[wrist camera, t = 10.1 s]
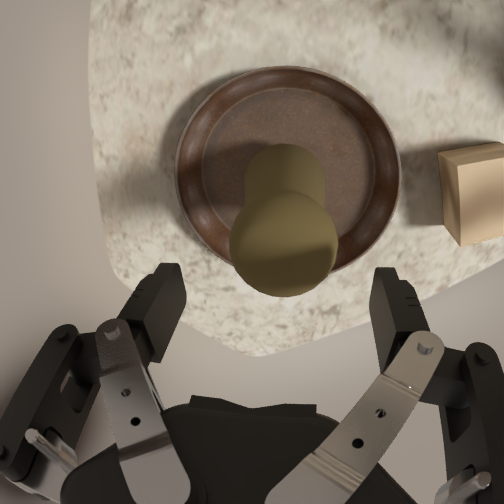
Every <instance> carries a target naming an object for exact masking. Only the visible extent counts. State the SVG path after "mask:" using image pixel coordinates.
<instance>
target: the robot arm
mask: <svg viewBox="0 0 504 504" xmlns="http://www.w3.org/2000/svg"><path fill="white" fill-rule="evenodd" d="M186 297H187V296H186V290H185V285H184V281H183V277H182V273H181V268H180V265H179V264H178V263H160V264H159V266H158V267H157V269H156V270H155V272H154V273H153V274H149V275H147V276H146V277H145V278H144V279H142V280H141V281H140V282H139V284H138V286H137V287H136V289H135V290H134V292H133V294H132V295H131V297H130V298H129V299H128V301H127V303H126V304H125V306H124V307H123V309H122V310H121V312H120V314H119V315H118V317H117V318H116V319H110V320H107V321H105V322H104V323H102V324H101V325H100V326H99V327H98V328H97V330H96V332H92V333H84V334H80V333H79V332H78V330H77V328H76V327H75V326H74V325H71V324H65V325H62V326H59V327H57V328H56V329H55V330H54V331H53V332H52V333H51V334H50V335H49V337H48V339H47V340H46V342H45V343H44V345H43V346H42V348H41V350H40V351H39V353H38V354H37V356H36V358H35V359H34V361H33V363H32V364H31V366H30V367H29V369H28V371H27V373H26V374H25V376H24V378H23V379H22V381H21V383H20V385H19V386H18V388H17V390H16V392H15V393H14V395H13V397H12V399H11V401H10V403H9V405H8V406H7V408H6V410H5V412H4V414H3V416H2V418H1V420H0V474H2V475H3V476H5V477H6V478H7V479H8V480H9V481H11V482H12V483H14V484H15V485H17V486H18V487H20V488H22V489H23V490H25V491H27V492H29V493H32V494H33V495H35V496H37V497H38V498H40V499H42V500H53V501H55V502H57V503H59V504H417V503H416V502H415V501H414V500H413V499H412V498H411V497H410V495H409V494H408V493H407V492H406V491H405V490H404V489H403V488H402V487H401V486H400V485H399V484H398V483H397V482H396V481H395V480H394V479H393V478H392V477H391V476H390V475H389V474H388V472H386V470H385V469H383V467H382V466H381V465H380V464H379V463H378V461H379V460H380V458H381V457H382V456H383V454H384V453H385V452H386V450H387V449H388V447H389V446H390V444H391V443H392V441H393V440H394V439H395V437H396V436H397V434H398V432H399V431H400V430H401V428H402V427H403V425H404V423H405V422H406V420H407V419H408V417H409V415H410V414H411V412H412V410H413V409H414V407H415V406H416V404H417V402H418V401H420V402H424V403H429V404H435V405H438V406H439V412H440V418H441V425H442V433H443V441H444V450H445V460H446V471H447V482H446V483H445V484H444V485H442V486H441V487H440V488H439V490H438V491H437V493H436V496H435V500H434V504H504V373H503V370H502V367H501V364H500V361H499V359H498V356H497V354H496V352H495V351H494V349H493V348H491V347H490V346H489V345H487V344H485V343H480V342H476V343H472V344H470V345H469V346H468V347H467V349H466V350H465V351H460V350H455V349H451V348H447V347H445V346H444V344H443V342H442V340H441V339H440V338H439V337H438V336H437V335H435V334H434V333H431V332H430V329H429V326H428V323H427V321H426V318H425V315H424V312H423V310H422V307H421V306H420V305H421V304H420V302H419V299H418V297H417V294H416V292H415V289H414V287H413V286H412V285H411V284H410V283H409V282H408V281H407V280H399V278H398V275H397V272H396V270H395V268H392V267H377V268H376V269H375V273H374V278H373V284H372V289H371V295H370V301H369V310H370V316H371V321H372V326H373V331H374V337H375V343H376V348H377V354H378V360H379V366H380V374H379V375H378V376H377V378H376V379H375V380H374V382H373V383H372V384H371V386H370V387H369V388H368V390H367V391H366V392H365V393H364V395H363V396H362V397H361V399H360V400H359V401H358V402H357V403H356V405H355V406H354V407H353V409H351V411H350V412H349V413H348V414H347V415H346V417H345V418H344V419H343V420H342V421H341V423H339V422H338V421H336V420H334V419H332V418H330V417H328V416H325V415H321V414H318V413H316V404H280V405H274V406H267V407H260V408H247V407H244V406H241V405H238V404H235V403H232V402H229V401H226V400H223V399H220V398H211V397H202V396H195V395H192V396H191V399H190V402H189V403H188V404H181V405H177V406H174V407H171V408H168V409H166V410H165V408H164V406H163V403H162V401H161V399H160V396H159V394H158V392H157V389H156V387H155V384H154V382H153V379H152V377H151V374H150V372H149V370H148V366H149V363H150V362H155V363H161V360H162V358H163V356H164V353H165V351H166V349H167V346H168V344H169V342H170V340H171V337H172V335H173V333H174V330H175V328H176V326H177V323H178V321H179V319H180V317H181V314H182V312H183V310H184V308H185V305H186ZM67 372H68V373H69V375H70V377H69V379H68V381H67V383H66V385H65V387H64V389H63V391H62V393H61V392H60V387H61V384H62V382H63V380H64V378H65V376H66V374H67ZM100 387H101V389H102V393H103V397H104V401H105V405H106V408H107V412H108V416H109V420H110V423H111V427H112V430H113V434H114V437H115V440H116V443H114V444H113V445H111V446H110V447H108V448H107V449H105V450H103V451H102V452H100V453H99V454H97V455H96V456H94V457H92V458H91V459H89V460H87V461H86V462H84V463H83V464H81V465H79V466H77V465H76V462H77V459H76V454H75V452H74V450H75V447H76V444H77V442H78V439H79V437H80V434H81V432H82V429H83V427H84V424H85V422H86V420H87V417H88V415H89V412H90V410H91V408H92V405H93V403H94V400H95V398H96V396H97V394H98V392H99V389H100Z"/></svg>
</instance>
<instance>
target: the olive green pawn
mask: <svg viewBox="0 0 504 504" xmlns="http://www.w3.org/2000/svg"><path fill="white" fill-rule="evenodd" d="M325 182H326V180H325V175H324V171H323V168H322V166H321V164H320V163H319V161H318V160H317V158H316V157H315V156H314V155H313V154H311V153H310V152H309V151H308V150H307V149H305V148H302V147H300V146H297V145H294V144H283V143H280V144H276V145H272V146H268V147H266V148H265V149H263V150H261V151H260V152H258V153H257V154H256V155H255V156H254V157H253V159H252V160H251V161H250V162H249V164H248V167H247V170H246V172H245V186H244V187H245V206H244V207H243V209H242V210H241V211H240V212H239V213H238V215H237V216H236V218H235V221H234V223H233V226H232V229H231V232H230V235H229V252H230V258H231V260H232V263H233V265H234V268H235V270H236V272H237V273H238V274H239V275H240V276H241V278H242V279H243V280H244V281H245V282H246V283H247V284H248V285H250V286H251V287H253V288H254V289H256V290H257V291H259V292H261V293H264V294H267V295H270V296H275V297H291V296H297V295H301V294H303V293H305V292H308V291H310V290H312V289H314V288H315V287H316V286H317V285H318V284H319V283H321V282H322V281H323V280H324V279H325V278H326V277H327V276H328V274H329V273H330V271H331V269H332V267H333V266H334V264H335V260H336V254H337V249H338V239H337V233H336V228H335V225H334V222H333V221H332V219H331V217H330V216H329V214H328V212H327V211H326V209H325V208H324V201H325Z"/></svg>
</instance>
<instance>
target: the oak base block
mask: <svg viewBox="0 0 504 504" xmlns="http://www.w3.org/2000/svg"><path fill="white" fill-rule="evenodd" d="M437 155H438V163H439V171H440V180H441V191H442V204H443V220H444V226H445V228H446V229H447V230H448V231H449V233H450V234H451V235H452V237H453V238H454V239H455V240H456V242H457V243H458V244H459V246H460V247H463V246H467V245H471V244H474V243H478V242H482V241H486V240H490V239H493V238H497V237H501V236H504V144H503V143H501V142H496V143H489V144H483V145H477V146H471V147H465V148H459V149H453V150H448V151H442V152H437Z"/></svg>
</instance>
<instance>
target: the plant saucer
mask: <svg viewBox="0 0 504 504" xmlns="http://www.w3.org/2000/svg"><path fill="white" fill-rule="evenodd" d="M280 143H283V144H294V145H297V146H300V147H302V148H305V149H307V150H308V151H309V152H310V153H311V154H313V155H314V156H315V157H316V158H317V160H318V161H319V163H320V164H321V166H322V168H323V171H324V175H325V180H326V182H325V201H324V208H325V209H326V211H327V212H328V214H329V216H330V217H331V219H332V221H333V222H334V225H335V228H336V233H337V239H338V249H337V254H336V260H335V264H334V266H333V267H332V269H331V271H330V273H329V274H331V273H334V272H336V271H339V270H341V269H343V268H345V267H347V266H348V265H350V264H352V263H353V262H355V261H356V260H358V259H359V258H360V257H362V256H363V255H364V254H365V253H367V252H368V251H369V250H370V249H371V248H372V247H373V246H374V245H375V244H376V242H377V241H378V240H379V239H380V237H381V236H382V234H383V233H384V231H385V230H386V228H387V227H388V225H389V223H390V221H391V219H392V217H393V215H394V212H395V210H396V207H397V203H398V200H399V195H400V188H401V163H400V156H399V152H398V148H397V145H396V142H395V139H394V136H393V134H392V132H391V130H390V128H389V126H388V124H387V122H386V121H385V119H384V118H383V116H382V115H381V113H380V112H379V111H378V109H377V108H376V107H375V106H374V105H373V103H372V102H371V101H370V100H369V99H368V98H367V97H365V96H364V95H363V94H362V93H361V92H359V91H358V90H357V89H355V88H354V87H353V86H351V85H350V84H348V83H346V82H345V81H343V80H341V79H339V78H337V77H335V76H333V75H330V74H328V73H325V72H323V71H319V70H316V69H311V68H307V67H300V66H273V67H266V68H261V69H257V70H253V71H249V72H247V73H244V74H241V75H239V76H237V77H235V78H233V79H231V80H229V81H227V82H225V83H224V84H222V85H221V86H219V87H218V88H217V89H215V90H214V91H213V92H212V93H210V94H209V95H208V96H207V97H206V98H205V99H204V100H203V101H202V102H201V103H200V105H199V106H198V107H197V108H196V110H195V111H194V112H193V114H192V115H191V117H190V118H189V120H188V122H187V124H186V126H185V128H184V130H183V132H182V134H181V137H180V140H179V143H178V147H177V151H176V157H175V166H174V175H175V186H176V192H177V196H178V200H179V203H180V206H181V209H182V211H183V214H184V216H185V218H186V220H187V222H188V224H189V225H190V227H191V228H192V230H193V231H194V233H195V234H196V236H197V237H198V238H199V239H200V241H201V242H202V243H203V244H204V245H205V246H206V247H207V248H208V249H209V250H211V251H212V252H213V253H214V254H215V255H216V256H218V257H219V258H221V259H222V260H223V261H225V262H226V263H228V264H230V265H232V266H234V265H233V263H232V260H231V258H230V252H229V235H230V232H231V229H232V226H233V223H234V221H235V218H236V216H237V215H238V213H239V212H240V211H241V210H242V209H243V207H244V206H245V187H244V186H245V172H246V170H247V167H248V164H249V162H250V161H251V160H252V159H253V157H254V156H255V155H256V154H257V153H258V152H260V151H261V150H263V149H265V148H266V147H268V146H272V145H276V144H280Z"/></svg>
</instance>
